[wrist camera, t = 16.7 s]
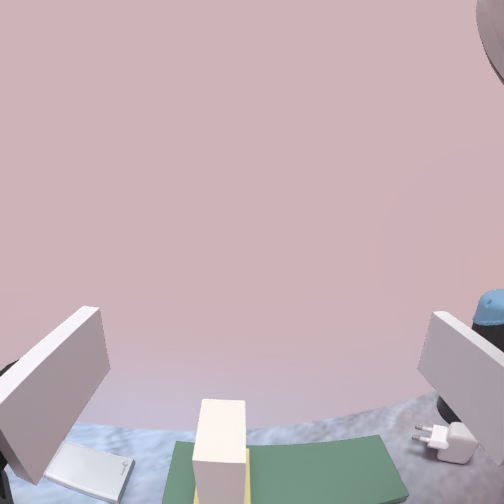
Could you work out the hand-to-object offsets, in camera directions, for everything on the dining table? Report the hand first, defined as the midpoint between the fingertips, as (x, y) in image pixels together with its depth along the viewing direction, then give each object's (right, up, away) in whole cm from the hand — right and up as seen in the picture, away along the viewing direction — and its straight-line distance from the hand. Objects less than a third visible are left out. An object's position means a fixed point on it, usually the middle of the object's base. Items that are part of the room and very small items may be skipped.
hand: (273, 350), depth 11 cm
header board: (+4, -26, +20) cm, 33 cm away
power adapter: (+28, -27, +21) cm, 44 cm away
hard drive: (-23, -27, +17) cm, 39 cm away
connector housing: (-4, -25, +19) cm, 32 cm away
